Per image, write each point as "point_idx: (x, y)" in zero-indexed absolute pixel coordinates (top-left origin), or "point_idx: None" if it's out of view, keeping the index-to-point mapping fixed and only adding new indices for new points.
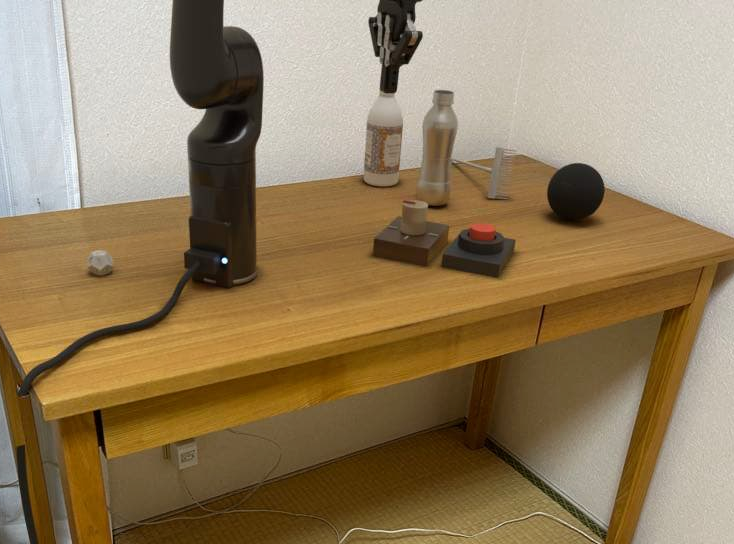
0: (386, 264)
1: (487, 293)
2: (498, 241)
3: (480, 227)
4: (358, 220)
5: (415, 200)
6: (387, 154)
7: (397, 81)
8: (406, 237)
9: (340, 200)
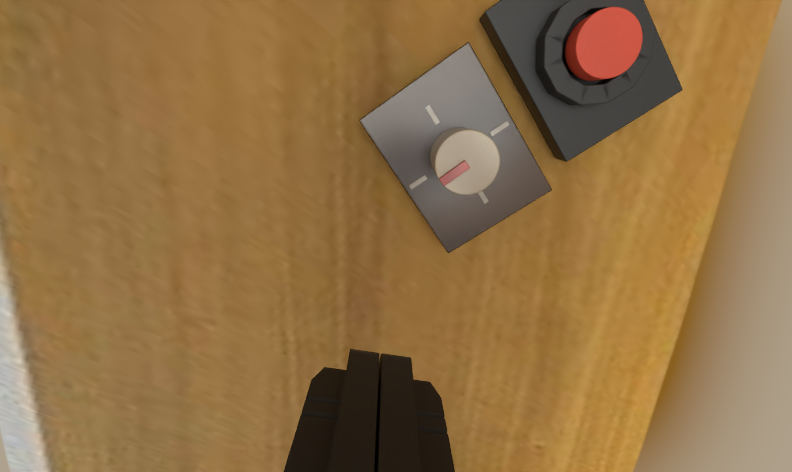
0: (486, 241)
1: (692, 162)
2: (650, 36)
3: (606, 51)
4: (261, 147)
5: (446, 145)
6: None
7: (444, 425)
8: (483, 195)
9: (123, 103)
